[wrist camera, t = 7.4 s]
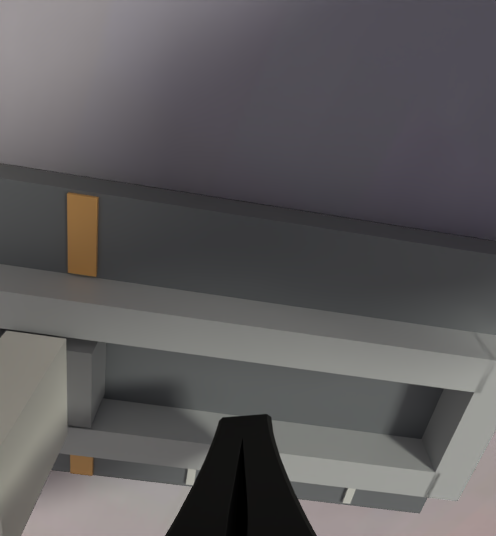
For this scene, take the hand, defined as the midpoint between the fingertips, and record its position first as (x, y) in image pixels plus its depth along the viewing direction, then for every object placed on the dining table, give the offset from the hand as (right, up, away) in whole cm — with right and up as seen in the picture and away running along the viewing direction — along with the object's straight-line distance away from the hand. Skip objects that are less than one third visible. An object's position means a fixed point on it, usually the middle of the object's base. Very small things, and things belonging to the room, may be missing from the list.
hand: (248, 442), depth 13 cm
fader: (-6, +2, +2) cm, 7 cm away
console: (-1, +2, +3) cm, 4 cm away
